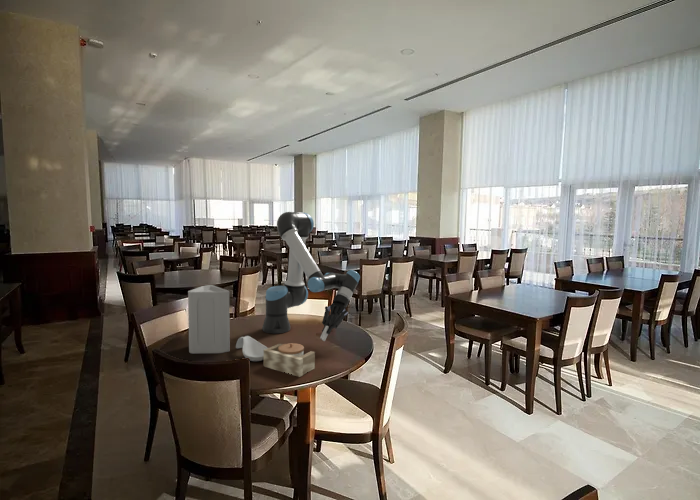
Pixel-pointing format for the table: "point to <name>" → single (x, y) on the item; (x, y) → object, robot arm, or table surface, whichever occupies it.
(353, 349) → the table surface
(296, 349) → the lidded jar
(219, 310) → the grey triangular prism
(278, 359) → the open wooden box
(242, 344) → the spoon rest
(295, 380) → the table surface
